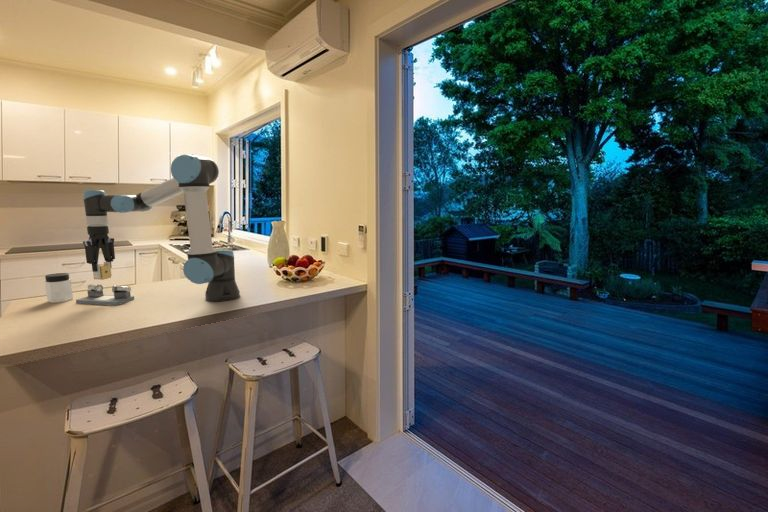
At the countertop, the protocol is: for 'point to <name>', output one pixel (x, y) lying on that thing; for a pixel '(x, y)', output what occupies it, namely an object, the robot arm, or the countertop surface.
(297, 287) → the countertop surface
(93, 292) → the shaft
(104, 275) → the coupler
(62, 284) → the jar
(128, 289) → the grey metal block
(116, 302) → the board
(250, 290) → the countertop surface
